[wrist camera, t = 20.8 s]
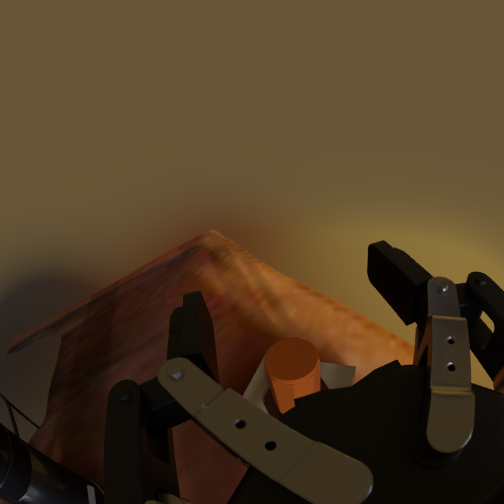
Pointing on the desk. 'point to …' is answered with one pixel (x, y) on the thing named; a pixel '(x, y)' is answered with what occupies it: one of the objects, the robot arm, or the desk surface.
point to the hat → (291, 374)
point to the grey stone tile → (328, 372)
